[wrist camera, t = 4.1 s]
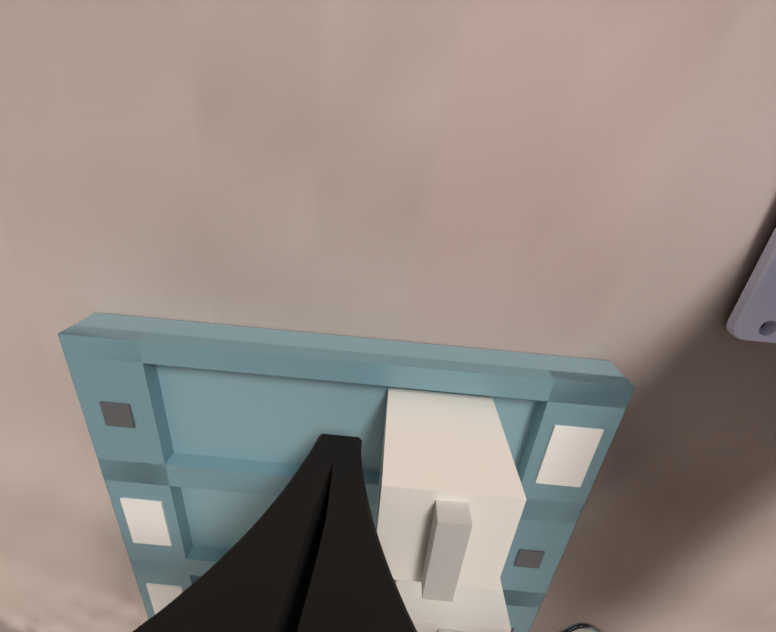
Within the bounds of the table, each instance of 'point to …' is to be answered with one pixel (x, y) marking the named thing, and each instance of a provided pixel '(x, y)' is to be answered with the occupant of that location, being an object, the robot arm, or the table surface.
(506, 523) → the tab
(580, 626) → the smartphone
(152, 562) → the switch board
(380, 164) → the table surface
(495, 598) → the tab
